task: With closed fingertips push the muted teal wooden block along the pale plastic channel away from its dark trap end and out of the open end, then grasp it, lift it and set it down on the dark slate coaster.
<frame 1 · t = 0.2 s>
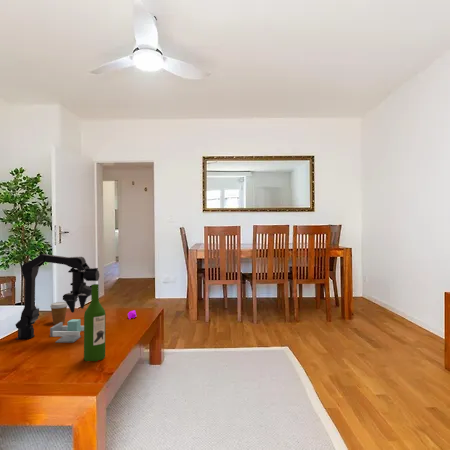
hand: (77, 310, 180), 14 cm above the table, fingers open, 9 cm apart
disposable coffee cup: (58, 323, 208), on the table
crystal: (131, 318, 220), on the table
block: (74, 333, 188), on the table
channel: (70, 333, 188), on the table
coaster: (68, 339, 177), on the table
wine bottle: (94, 358, 152), on the table
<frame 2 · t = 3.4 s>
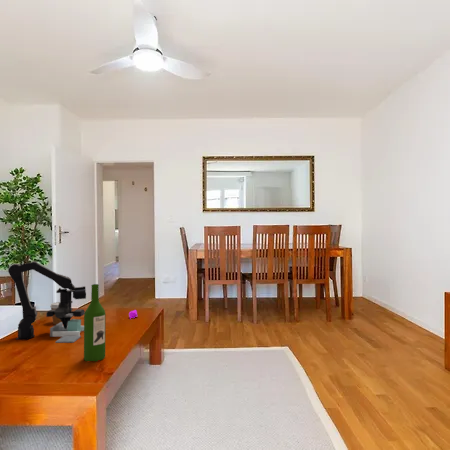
hand: (65, 328, 188), 2 cm above the table, fingers closed
block: (74, 333, 188), on the table, touching gripper
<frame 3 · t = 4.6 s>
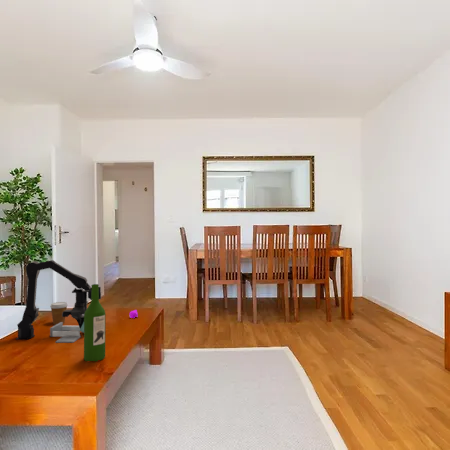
hand: (81, 328, 188), 2 cm above the table, fingers closed
block: (85, 331, 187), point 1 cm above the table, tilted 27°, touching gripper
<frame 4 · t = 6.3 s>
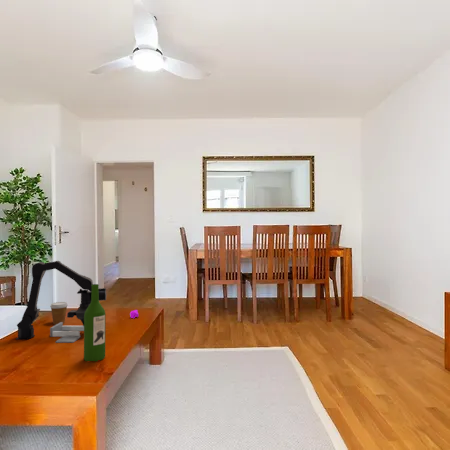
hand: (85, 329, 188), 2 cm above the table, fingers closed
block: (93, 331, 188), point 1 cm above the table, tilted 19°, touching gripper
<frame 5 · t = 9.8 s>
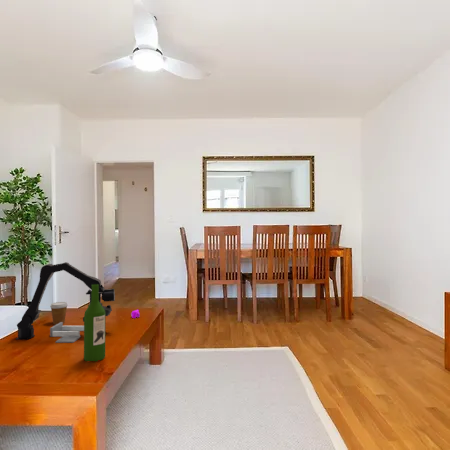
hand: (95, 330, 188), 2 cm above the table, fingers closed on block, 5 cm apart
block: (92, 333, 188), on the table, touching gripper
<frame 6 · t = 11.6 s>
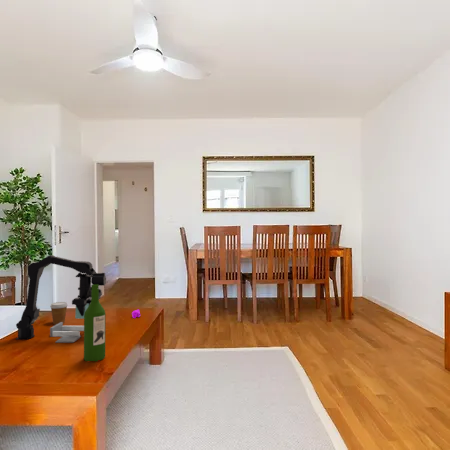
hand: (84, 314, 183), 11 cm above the table, fingers closed on block, 5 cm apart
block: (81, 317, 183), point 10 cm above the table, touching gripper
when the fingers open (3 cm above the table, at t = 14.0 s): block drops 1 cm, resting on coaster.
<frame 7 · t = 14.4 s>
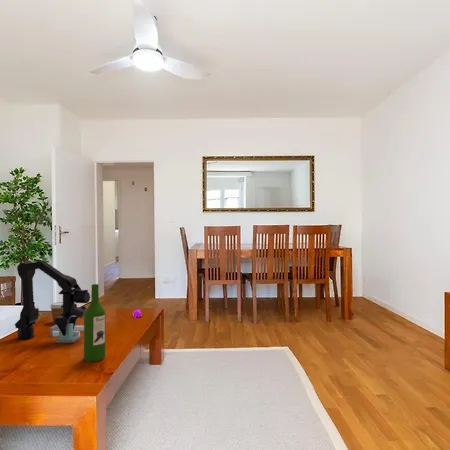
hand: (68, 332, 177), 3 cm above the table, fingers open, 9 cm apart
block: (66, 338, 177), point 1 cm above the table, touching coaster
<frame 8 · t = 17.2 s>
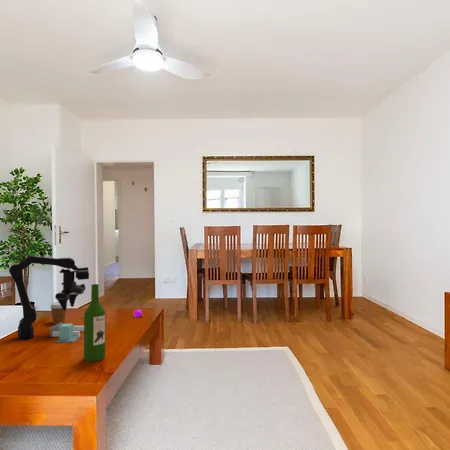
hand: (68, 308, 190), 13 cm above the table, fingers open, 9 cm apart
at the end: block inside the target area on the coaster (1.2 cm from its centre), point 0.6 cm above the coaster's base; the gripper is holding nothing; block touching coaster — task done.
